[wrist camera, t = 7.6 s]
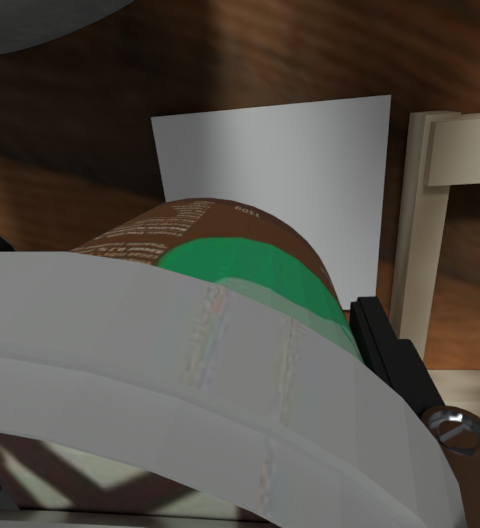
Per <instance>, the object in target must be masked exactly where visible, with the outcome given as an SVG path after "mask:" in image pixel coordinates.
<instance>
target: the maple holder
mask: <svg viewBox="0 0 480 528" xmlns="http://www.w3.org/2000/svg"><path fill="white" fill-rule="evenodd" d="M461 113H462V112H454V111H443V110H440V111H428V112H417V113H410V116H409V126H408V136H407V146H406V156H405V166H404V176H403V186H402V196H401V206H400V215H399V225H398V235H397V245H396V255H395V265H394V275H393V285H392V295H391V305H390V315H389V322H390V324H391V326H392V328H393V330H394V333H395V335H396V337H397V339H410V340H411V341H412V343H413V344H414V346H415V348H416V350H417V352H418V354H419V356H420V358H421V359H422V361H423V356H424V350H425V344H426V337H427V331H428V324H429V318H430V311H431V305H432V299H433V292H434V286H435V279H436V273H437V267H438V260H439V254H440V247H441V241H442V235H443V228H444V222H445V215H446V209H447V203H448V196H449V190H450V185H458V184H475V183H480V113H475V114H463V115H461ZM427 371H428V373H429V375H430V376H431V378H432V380H433V382H434V384H435V386H436V388H437V390H438V392H439V394H440V395H441V397H442V399H443V401H444V403H445V405H448V406H455V407H459V408H462V409H465V410H468V411H470V412H471V413H473V414H475V415H477V416H479V417H480V370H427Z"/></svg>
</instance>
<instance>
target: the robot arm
mask: <svg viewBox="0 0 480 528" xmlns="http://www.w3.org/2000/svg"><path fill="white" fill-rule="evenodd" d="M349 327H350V329H351V332H352V334H353V337H354V339H355V342H356V344H357V347H358V349H359V352H360V354H361V357H362V359H363V362H364V364H365V366H366V367H367V368H368V369H370V370H371V371H372V372H373V373H374V374H375V375H377V376H378V377H379V378H380V379H381V380H382V381H383V382H385V383H386V384H387V385H388V386H389V387H390V388H392V389H393V390H394V391H395V392H396V393H397V394H398V395H400V396H401V397H402V398H403V399H404V400H405V402H406V403H407V404H408V405H409V407H410V408H411V409H412V410H413V412H414V413H415V414H416V415H417V417H418V418H419V419H420V420H421V422H422V423H423V424H424V425H425V427H426V428H427V429H428V430H429V432H430V433H431V434H432V435H433V437H434V438H435V439H436V440H437V442H438V443H439V445H440V447H441V449H442V451H443V453H444V455H445V457H446V459H447V461H448V463H449V465H450V467H451V469H452V471H453V473H454V476H455V478H456V480H457V482H458V484H459V488H460V493H461V498H462V503H463V508H464V513H465V518H466V523H467V528H480V417H479V416H477V415H475V414H473V413H471V412H470V411H468V410H465V409H462V408H459V407H455V406H448V405H445V403H444V401H443V399H442V397H441V395H440V394H439V392H438V390H437V388H436V386H435V384H434V382H433V380H432V378H431V376H430V375H429V373H428V371H427V369H426V367H425V365H424V363H423V361H422V359H421V358H420V356H419V354H418V352H417V350H416V348H415V346H414V344H413V343H412V341H411V340H410V339H397V337H396V335H395V333H394V330H393V328H392V326H391V324H390V322H389V320H388V318H387V316H386V314H385V311H384V309H383V307H382V305H381V303H380V301H379V299H378V297H377V296H369V297H358V298H357V301H354V302H351V303H350V321H349ZM0 528H282V527H280V526H278V525H276V524H270V523H254V522H237V521H221V520H204V519H187V518H170V517H154V516H135V515H117V514H98V513H80V512H61V511H36V510H20V509H19V508H18V506H17V505H16V504H15V503H14V501H13V500H12V499H11V497H10V496H9V495H8V494H7V492H6V491H5V490H4V488H3V487H2V486H1V484H0Z"/></svg>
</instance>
